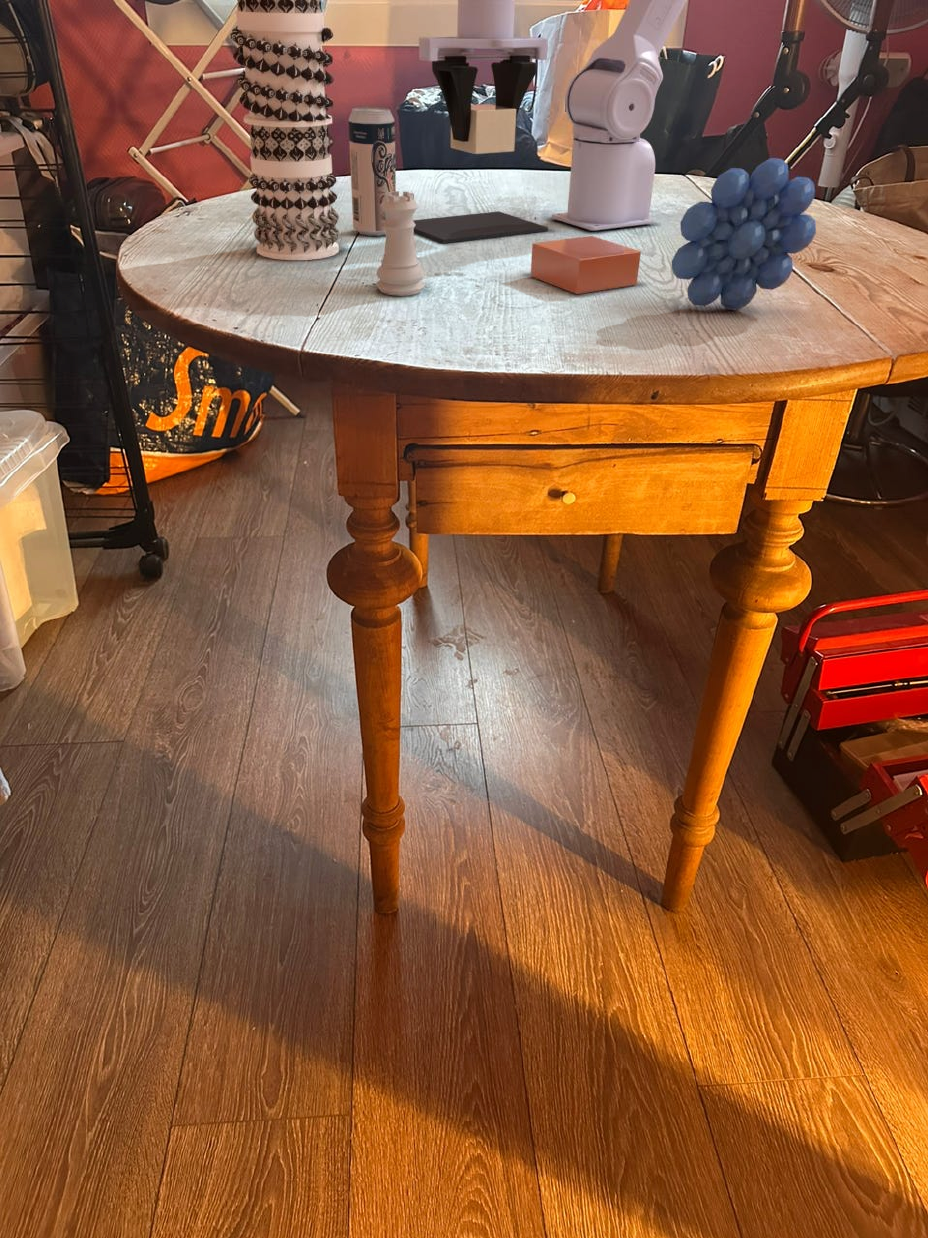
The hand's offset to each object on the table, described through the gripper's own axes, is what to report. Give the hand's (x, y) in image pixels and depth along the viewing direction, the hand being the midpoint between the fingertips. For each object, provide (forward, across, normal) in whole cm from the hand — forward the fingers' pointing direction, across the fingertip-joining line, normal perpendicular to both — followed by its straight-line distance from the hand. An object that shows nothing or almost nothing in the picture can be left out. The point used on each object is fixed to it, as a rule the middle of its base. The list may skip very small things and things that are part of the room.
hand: (482, 139), depth 99 cm
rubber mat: (+9, 0, +2) cm, 9 cm away
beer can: (+10, -11, +5) cm, 15 cm away
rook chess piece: (+10, -20, -17) cm, 28 cm away
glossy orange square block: (+9, -3, -22) cm, 24 cm away
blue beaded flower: (+10, +3, -35) cm, 37 cm away
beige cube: (+1, 0, 0) cm, 1 cm away
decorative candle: (+10, -22, +1) cm, 24 cm away
